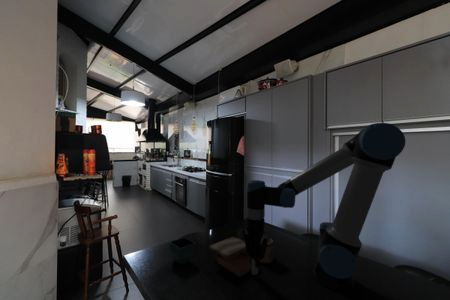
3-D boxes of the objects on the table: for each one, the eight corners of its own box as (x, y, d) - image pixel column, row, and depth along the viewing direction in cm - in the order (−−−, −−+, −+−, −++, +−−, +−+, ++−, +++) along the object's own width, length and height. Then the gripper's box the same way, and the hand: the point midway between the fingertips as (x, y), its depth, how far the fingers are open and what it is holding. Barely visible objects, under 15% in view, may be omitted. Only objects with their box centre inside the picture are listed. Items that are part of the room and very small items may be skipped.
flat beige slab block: (250, 261, 100) (251, 244, 100) (227, 275, 89) (227, 255, 89) (232, 252, 109) (232, 236, 109) (208, 263, 98) (209, 245, 97)
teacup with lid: (273, 265, 98) (274, 240, 98) (254, 262, 99) (254, 238, 99) (273, 252, 109) (273, 230, 109) (255, 250, 111) (256, 228, 111)
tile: (254, 269, 95) (254, 261, 95) (239, 278, 88) (239, 269, 88) (232, 256, 105) (232, 249, 105) (217, 264, 98) (217, 256, 98)
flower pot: (195, 261, 99) (195, 242, 99) (179, 268, 93) (180, 248, 93) (184, 254, 105) (184, 236, 105) (168, 261, 99) (169, 242, 99)
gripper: (273, 219, 87) (273, 276, 87) (249, 212, 96) (248, 263, 96) (263, 223, 81) (262, 284, 81) (238, 215, 91) (237, 270, 91)
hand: (254, 273), depth 89 cm, fingers closed
